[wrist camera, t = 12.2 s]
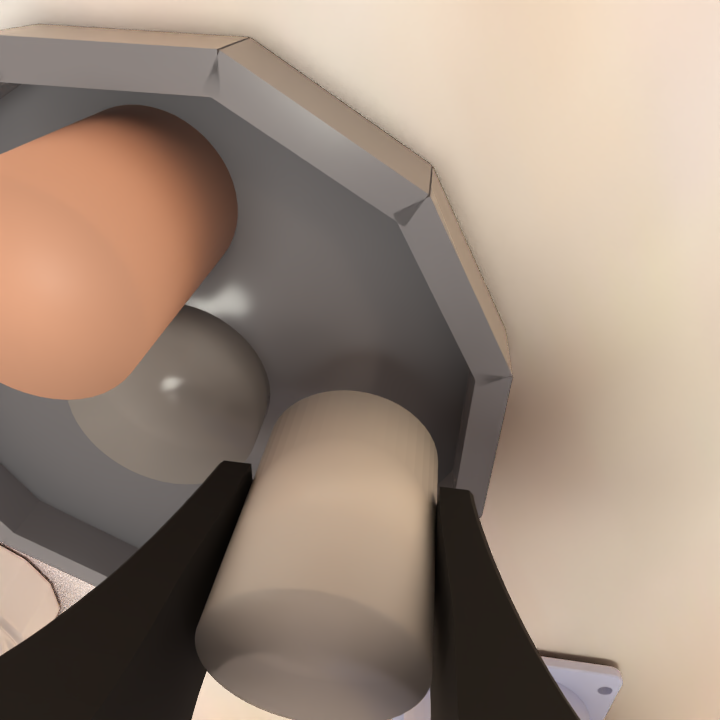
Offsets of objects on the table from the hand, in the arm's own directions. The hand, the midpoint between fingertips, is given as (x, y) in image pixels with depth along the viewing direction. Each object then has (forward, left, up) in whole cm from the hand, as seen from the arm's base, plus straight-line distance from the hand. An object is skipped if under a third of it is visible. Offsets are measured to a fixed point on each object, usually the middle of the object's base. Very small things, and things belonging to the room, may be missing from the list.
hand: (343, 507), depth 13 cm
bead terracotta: (+5, +5, -4) cm, 8 cm away
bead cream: (0, 0, -1) cm, 1 cm away
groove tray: (0, +5, -4) cm, 7 cm away
